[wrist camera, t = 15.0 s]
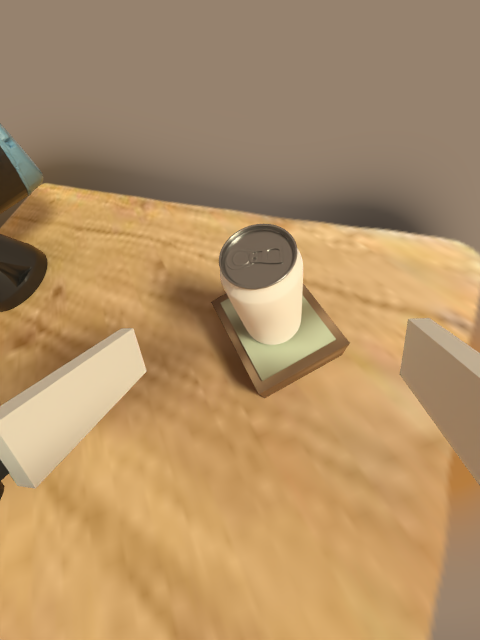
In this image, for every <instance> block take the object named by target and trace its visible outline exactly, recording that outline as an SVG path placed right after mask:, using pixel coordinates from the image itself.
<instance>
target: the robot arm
mask: <svg viewBox="0 0 480 640" xmlns="http://www.w3.org/2000/svg"><path fill="white" fill-rule="evenodd" d="M42 182H43V175H42V173H41V171H40V170H39V168H38V167H37V166H36V165H35V163H34V162H33V161H32V160H31V159H30V157H29V156H28V155H27V154H26V153H25V152H24V150H23V149H22V148H21V147H20V146H19V144H18V143H17V142H16V141H15V140H14V139H13V137H12V136H11V135H10V134H9V133H8V132H7V131H6V129H5V128H4V127H3V126H2V125H1V124H0V214H1V213H3V212H4V211H6V210H7V209H9V208H10V207H12V206H13V205H15V204H16V203H18V202H19V201H21V200H22V199H24V198H25V197H27V196H29V195H31V192H32V191H34V190H35V189H36V188H37V187H38V186H40V185H41V184H42ZM46 269H47V259H46V256H45V254H44V253H43V252H42V251H40V250H38V249H37V248H35V247H34V246H32V245H30V244H28V243H24V242H21V241H19V240H16V239H13V238H10V237H8V236H5V235H2V234H0V312H2V311H6V310H9V309H12V308H14V307H16V306H17V305H19V304H21V303H22V302H23V301H25V300H26V299H27V298H28V297H29V296H30V295H31V294H32V293H33V292H34V291H35V290H36V289H37V287H38V286H39V284H40V283H41V281H42V279H43V277H44V275H45V272H46ZM145 373H146V368H145V364H144V361H143V358H142V355H141V352H140V348H139V345H138V342H137V339H136V336H135V332H134V329H133V328H126V329H120V330H118V331H117V332H115V333H113V334H112V335H110V336H109V337H107V338H106V339H104V340H103V341H101V342H99V343H98V344H96V345H95V346H93V347H92V348H90V349H88V350H87V351H85V352H84V353H82V354H81V355H79V356H78V357H76V358H74V359H73V360H71V361H70V362H68V363H67V364H65V365H64V366H62V367H60V368H59V369H57V370H56V371H54V372H53V373H51V374H49V375H48V376H46V377H45V378H43V379H42V380H40V381H39V382H37V383H35V384H34V385H32V386H31V387H29V388H28V389H26V390H25V391H23V392H21V393H20V394H18V395H17V396H15V397H14V398H12V399H10V400H9V401H7V402H6V403H4V404H3V405H1V406H0V499H1V497H2V494H3V492H4V485H3V484H2V482H1V480H2V479H3V478H4V477H5V476H6V475H8V474H10V475H11V477H12V478H13V480H14V481H15V483H16V484H17V486H23V487H29V488H37V486H38V485H39V484H40V483H41V482H42V481H43V480H44V479H45V478H46V477H47V476H48V475H49V474H50V473H51V472H52V471H53V470H54V469H55V467H56V466H57V465H58V464H59V463H60V462H61V461H62V460H63V459H64V458H65V457H66V456H67V455H68V454H69V453H70V452H71V451H72V450H73V448H74V447H75V446H76V445H77V444H78V443H79V442H80V441H81V440H82V439H83V438H84V437H85V436H86V435H87V434H88V433H89V432H90V431H91V429H92V428H93V427H94V426H95V425H96V424H97V423H98V422H99V421H100V420H101V419H102V418H103V417H104V416H105V415H106V414H107V413H108V412H109V410H110V409H111V408H112V407H113V406H114V405H115V404H116V403H117V402H118V401H119V400H120V399H121V398H122V397H123V396H124V395H125V394H126V393H127V392H128V390H129V389H130V388H131V387H132V386H133V385H134V384H135V383H136V382H137V381H138V380H139V379H140V378H141V377H142V376H143V375H144V374H145ZM400 375H401V377H402V378H403V380H404V381H405V382H406V384H407V385H408V387H409V388H410V389H411V391H412V392H413V394H414V395H415V396H416V398H417V399H418V400H419V402H420V403H421V405H422V406H423V407H424V409H425V410H426V412H427V413H428V414H429V416H430V417H431V419H432V420H433V421H434V423H435V424H436V426H437V427H438V428H439V430H440V431H441V433H442V434H443V435H444V437H445V438H446V439H447V441H448V442H449V444H450V445H451V446H452V448H453V449H454V451H455V452H456V453H457V455H458V456H459V458H460V459H461V460H462V462H463V463H464V464H465V466H466V467H467V469H468V470H469V472H470V473H471V474H472V476H473V477H474V478H475V480H476V481H477V483H478V484H479V485H480V353H479V352H477V351H476V350H474V349H473V348H471V347H470V346H469V345H467V344H466V343H464V342H463V341H461V340H460V339H459V338H457V337H456V336H454V335H453V334H451V333H450V332H449V331H447V330H446V329H444V328H443V327H441V326H440V325H438V324H437V323H436V322H434V321H433V320H431V319H430V318H420V319H408V324H407V330H406V337H405V343H404V350H403V356H402V363H401V369H400Z"/></svg>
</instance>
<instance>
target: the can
mask: <svg viewBox="0 0 480 640" xmlns="http://www.w3.org/2000/svg"><path fill="white" fill-rule="evenodd" d="M219 266H220V278H221V282H222V285H223V288H224V290H225V292H226V294H227V295H228V297H229V299H230V301H231V303H232V305H233V306H234V308H235V310H236V312H237V314H238V315H239V317H240V319H241V321H242V322H243V324H244V326H245V328H246V329H247V331H248V333H249V334H250V335H251V336H252V337H253V338H254V339H255V340H256V341H258V342H260V343H263V344H267V345H277V344H281V343H284V342H286V341H288V340H289V339H291V338H292V337H293V336H294V335H295V334H296V332H297V331H298V329H299V327H300V323H301V314H302V291H303V261H302V257H301V254H300V252H299V250H298V248H297V245H296V242H295V240H294V238H293V237H292V236H291V234H290V233H289V232H287V231H286V230H285V229H283V228H281V227H279V226H276V225H271V224H256V225H251V226H248V227H245V228H243V229H241V230H239V231H237V232H236V233H235V234H233V235H232V236H231V237H230V238H229V239H228V240H227V241H226V243H225V244H224V246H223V247H222V249H221V252H220V256H219Z"/></svg>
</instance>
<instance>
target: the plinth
mask: <svg viewBox="0 0 480 640" xmlns="http://www.w3.org/2000/svg"><path fill="white" fill-rule="evenodd" d="M211 303H212V304H213V306H214V308H215V310H216V312H217V314H218V316H219V318H220V320H221V322H222V324H223V326H224V328H225V330H226V332H227V334H228V336H229V337H230V339H231V341H232V343H233V345H234V347H235V349H236V351H237V353H238V355H239V357H240V359H241V361H242V363H243V365H244V367H245V369H246V370H247V372H248V374H249V376H250V378H251V380H252V382H253V384H254V386H255V388H256V390H257V392H258V394H259V395H261V396H262V397H264V398H266V397H268V396H270V395H271V394H273V393H275V392H277V391H278V390H280V389H282V388H284V387H286V386H287V385H289V384H291V383H293V382H294V381H296V380H298V379H300V378H302V377H303V376H305V375H307V374H309V373H310V372H312V371H314V370H316V369H318V368H319V367H321V366H323V365H325V364H326V363H328V362H330V361H332V360H334V359H335V358H337V357H339V356H341V355H342V354H343V352H344V351H345V349H346V348H347V346H348V345H349V342H348V340H347V339H346V338H345V336H344V335H343V334H342V333H341V331H340V330H339V329H338V327H337V326H336V325H335V324H334V322H333V321H332V320H331V318H330V317H329V316H328V315H327V313H326V312H325V311H324V310H323V308H322V307H321V306H320V304H319V303H318V302H317V301H316V299H315V298H314V297H313V295H312V294H311V293H310V292H309V290H308V289H307V288H306V287H305V285H304V284H303V291H302V314H301V323H300V327H299V329H298V331H297V332H296V334H295V335H294V336H293V337H292V338H291V339H289V340H288V341H286V342H284V343H281V344H277V345H267V344H263V343H260V342H258V341H256V340H255V339H254V338H253V337H252V336H251V335H250V334H249V333H248V331H247V329H246V328H245V326H244V324H243V322H242V321H241V319H240V317H239V315H238V314H237V312H236V310H235V308H234V306H233V305H232V303H231V301H230V299H229V297H228V295H227V294H225V295H223V296H221V297H219V298H217V299H216V300H214V301H212V302H211Z"/></svg>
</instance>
